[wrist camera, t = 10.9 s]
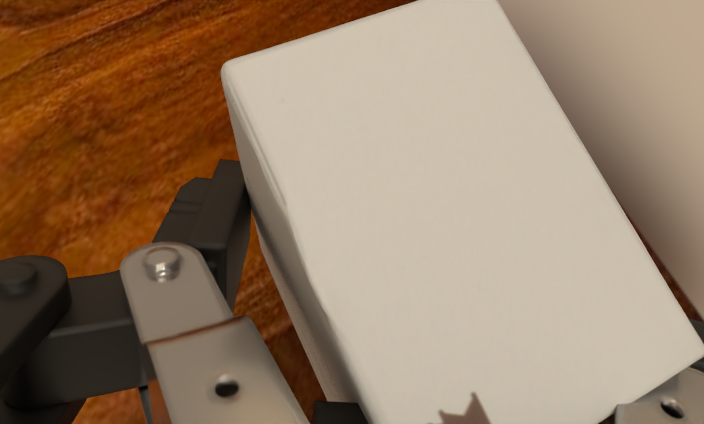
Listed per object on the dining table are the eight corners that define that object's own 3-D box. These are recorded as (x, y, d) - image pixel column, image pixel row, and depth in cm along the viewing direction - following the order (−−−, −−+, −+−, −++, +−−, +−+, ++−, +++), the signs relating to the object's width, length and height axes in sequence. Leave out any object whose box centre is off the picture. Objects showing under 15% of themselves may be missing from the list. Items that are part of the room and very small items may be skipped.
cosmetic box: (438, 349, 18) (730, 369, 6) (328, 406, 17) (423, 560, 5) (364, 196, 19) (491, -38, 7) (256, 242, 18) (200, 60, 6)
